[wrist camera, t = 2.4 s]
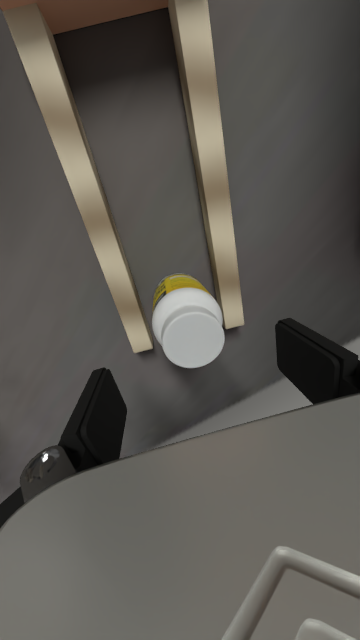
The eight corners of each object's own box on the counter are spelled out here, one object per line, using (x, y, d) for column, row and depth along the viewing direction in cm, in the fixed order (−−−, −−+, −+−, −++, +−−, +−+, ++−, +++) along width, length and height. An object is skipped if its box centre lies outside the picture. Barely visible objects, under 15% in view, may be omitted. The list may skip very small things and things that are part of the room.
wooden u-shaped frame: (6, -4, 13) (-56, -104, 9) (190, -48, 13) (204, -164, 9) (136, 343, 23) (132, 364, 19) (237, 317, 23) (252, 332, 19)
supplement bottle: (155, 269, 20) (155, 295, 11) (207, 275, 21) (247, 304, 12) (151, 319, 22) (147, 375, 13) (198, 323, 23) (226, 379, 14)
